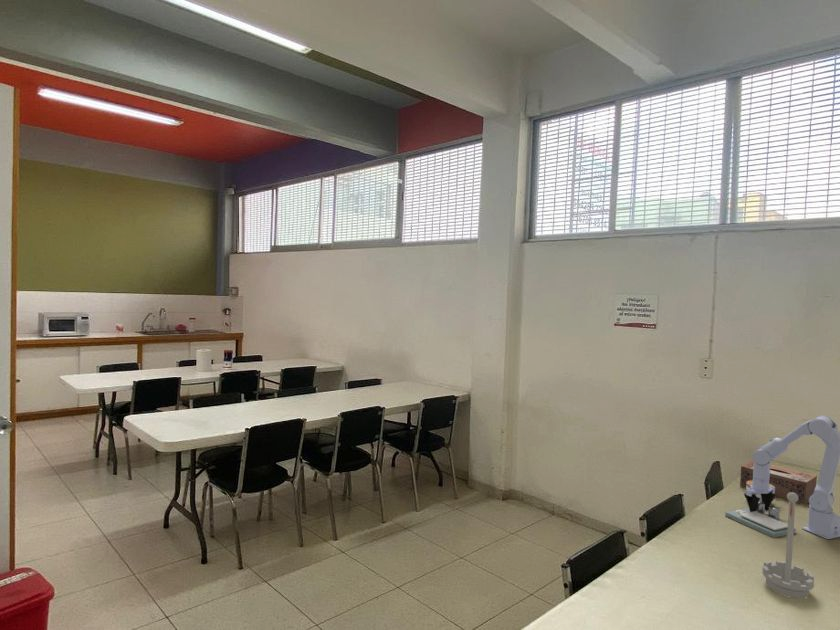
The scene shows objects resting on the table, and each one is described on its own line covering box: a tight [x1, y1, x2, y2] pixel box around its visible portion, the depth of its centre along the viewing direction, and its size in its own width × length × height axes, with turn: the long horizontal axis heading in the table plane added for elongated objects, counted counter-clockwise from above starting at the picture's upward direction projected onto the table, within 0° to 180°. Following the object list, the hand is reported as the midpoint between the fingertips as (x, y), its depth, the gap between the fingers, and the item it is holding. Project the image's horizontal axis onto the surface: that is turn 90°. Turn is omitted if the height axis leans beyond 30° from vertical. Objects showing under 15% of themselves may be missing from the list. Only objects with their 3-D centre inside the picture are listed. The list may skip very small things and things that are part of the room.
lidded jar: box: [745, 480, 775, 502], centre depth 231 cm, size 11×11×9 cm
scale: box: [724, 507, 797, 539], centre depth 209 cm, size 20×12×3 cm, turn 22°
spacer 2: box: [767, 506, 780, 521], centre depth 212 cm, size 4×4×5 cm
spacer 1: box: [756, 501, 766, 515], centre depth 218 cm, size 4×4×5 cm
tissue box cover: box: [739, 460, 818, 505], centre depth 244 cm, size 26×14×10 cm, turn 39°
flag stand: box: [762, 492, 815, 599], centre depth 163 cm, size 13×13×30 cm
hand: (759, 510), depth 218 cm, fingers open, 7 cm apart
